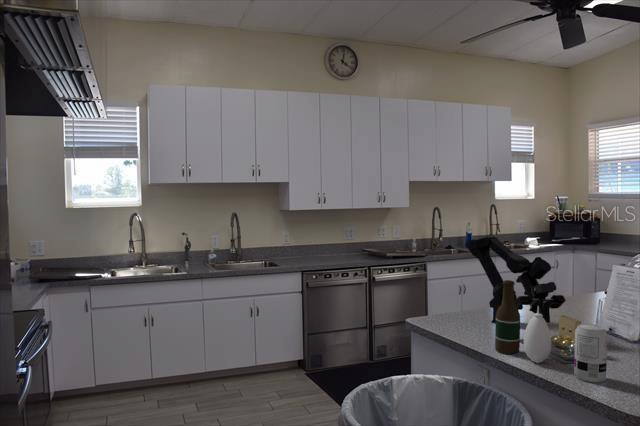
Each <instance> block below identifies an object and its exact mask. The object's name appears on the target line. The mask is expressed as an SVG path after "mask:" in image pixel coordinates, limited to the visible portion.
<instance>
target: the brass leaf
mask: <svg viewBox="0 0 640 426" xmlns="http://www.w3.org/2000/svg"><path fill="white" fill-rule="evenodd" d="M579 324H582V320H579V319H577V318H575V317H572V316H569V315H559V319H558V335H553V336H551V343H552V344H554V345H556V346H558V347H561V348H563V349H565V350H567V345H568V344H569V343H570V342H573V343H575V329H576V328H577V326H578V325H579Z"/></svg>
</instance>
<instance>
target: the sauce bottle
mask: <svg viewBox="0 0 640 426" xmlns="http://www.w3.org/2000/svg"><path fill="white" fill-rule="evenodd" d="M551 338H552V336H551V331H550V328H549V326H548V323H546V321H545V320H544V318H543V315H542V314H539V306H538V309H537V313H533V317H531V319H530V320H529V321H528V323H527V326H526V328H525V331H524V335H523V339H524V344H523V348H524V351H525V354H526V355H527V357H528V358H529V359H530V360H531V361H533V362H534V363H535V362H536V363H535V364H540V363H543V362H544V361H545V360H547V359H548V355H549V353H550V350H551Z"/></svg>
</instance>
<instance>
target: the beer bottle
mask: <svg viewBox="0 0 640 426" xmlns="http://www.w3.org/2000/svg"><path fill="white" fill-rule="evenodd" d="M515 283H516V282H515V281H514V280H510V279H508V280H507V279H505V280H503V284H504V287H503V298H502V304H501V305H500V307H499V308H498V310H497V312H496V323H495V331H494V332H495V334H494V337H495V338H494V341H495V342H494V346H495V348H494V349H495V351H496V352H498V353H499V354H503V355H514V354H515V355H517V354H518V353H520V346H521V345H520V344H521V343H520V339H521V313H520V310H518V309H517V307H516V306H515V301H514V291H515Z"/></svg>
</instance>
